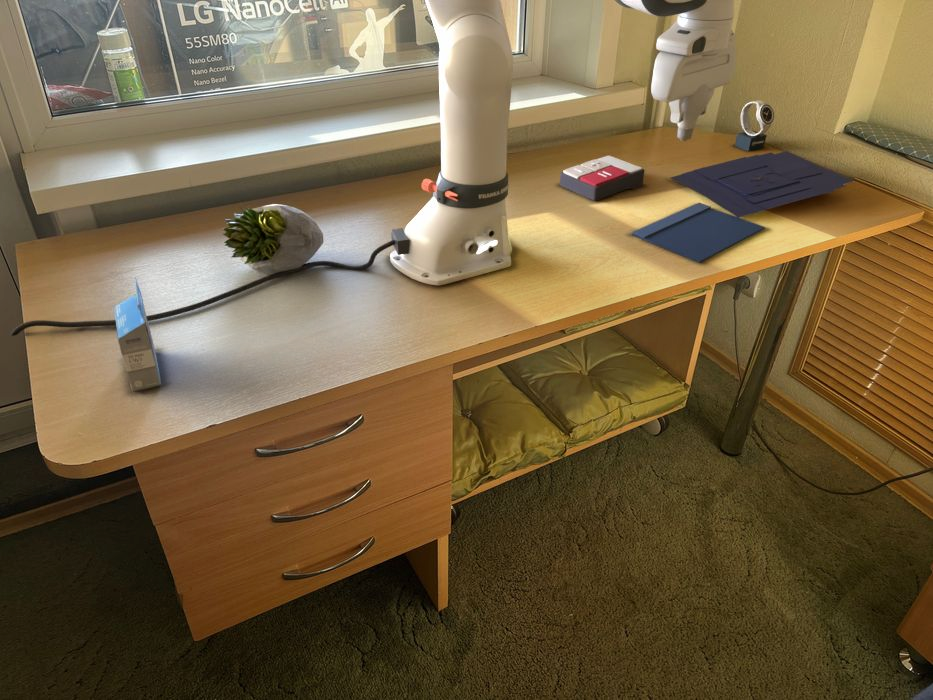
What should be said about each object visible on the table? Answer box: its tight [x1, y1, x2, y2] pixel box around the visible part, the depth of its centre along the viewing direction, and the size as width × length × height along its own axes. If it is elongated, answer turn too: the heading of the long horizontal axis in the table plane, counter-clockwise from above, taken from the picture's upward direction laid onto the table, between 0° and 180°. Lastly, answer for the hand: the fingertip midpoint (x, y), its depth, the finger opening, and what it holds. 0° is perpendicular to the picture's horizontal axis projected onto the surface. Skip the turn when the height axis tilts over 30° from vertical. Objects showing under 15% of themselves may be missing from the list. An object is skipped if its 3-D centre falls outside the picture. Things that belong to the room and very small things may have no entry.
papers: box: [669, 150, 856, 218], centre depth 152 cm, size 24×30×4 cm
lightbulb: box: [676, 84, 710, 142], centre depth 126 cm, size 6×6×11 cm
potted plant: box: [222, 203, 324, 276], centre depth 118 cm, size 12×13×15 cm
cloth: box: [631, 202, 766, 264], centre depth 135 cm, size 22×15×1 cm
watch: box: [734, 100, 775, 152], centre depth 174 cm, size 6×8×11 cm
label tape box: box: [113, 275, 162, 392], centre depth 93 cm, size 9×4×12 cm, turn 25°
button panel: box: [559, 155, 646, 202], centre depth 154 cm, size 11×4×15 cm
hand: (687, 118), depth 127 cm, fingers closed on lightbulb, 6 cm apart
